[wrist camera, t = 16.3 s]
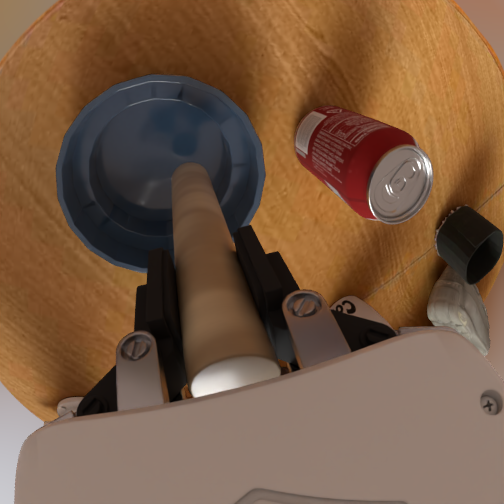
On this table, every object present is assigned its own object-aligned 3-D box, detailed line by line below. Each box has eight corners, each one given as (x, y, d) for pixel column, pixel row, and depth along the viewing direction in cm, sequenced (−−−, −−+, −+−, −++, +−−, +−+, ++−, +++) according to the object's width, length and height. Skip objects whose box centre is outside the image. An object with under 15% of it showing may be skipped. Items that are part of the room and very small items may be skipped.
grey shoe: (489, 367, 47) (502, 323, 50) (474, 320, 33) (489, 255, 35) (451, 358, 56) (464, 317, 58) (414, 309, 41) (433, 250, 44)
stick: (176, 201, 22) (202, 414, 9) (167, 167, 20) (175, 369, 7) (211, 192, 22) (284, 393, 9) (204, 158, 20) (278, 343, 7)
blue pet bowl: (109, 251, 29) (100, 290, 24) (58, 106, 20) (30, 118, 15) (256, 214, 30) (274, 247, 26) (233, 58, 22) (249, 55, 17)
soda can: (276, 145, 27) (339, 198, 17) (322, 89, 25) (408, 113, 15) (325, 184, 30) (395, 248, 21) (366, 134, 28) (451, 179, 18)
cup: (343, 280, 38) (382, 336, 30) (379, 294, 42) (416, 344, 34) (306, 324, 41) (335, 383, 33) (345, 333, 45) (374, 384, 37)
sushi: (505, 220, 29) (466, 193, 36) (464, 257, 31) (427, 223, 37) (503, 260, 34) (471, 232, 40) (465, 293, 35) (434, 261, 42)
